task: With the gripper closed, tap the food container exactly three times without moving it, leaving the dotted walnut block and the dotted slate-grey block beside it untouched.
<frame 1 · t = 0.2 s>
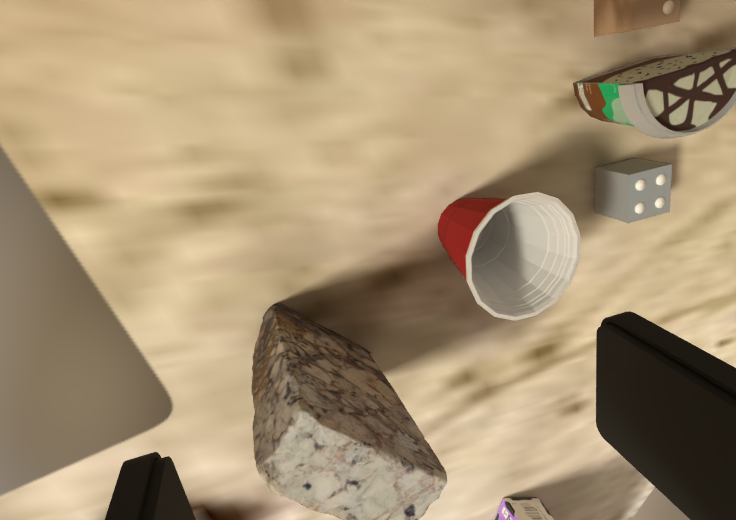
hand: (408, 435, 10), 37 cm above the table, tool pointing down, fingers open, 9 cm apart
food container: (614, 100, 50), on the table
plastic cup: (463, 223, 50), on the table
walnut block: (615, 4, 47), on the table
slate-grey block: (614, 185, 53), on the table
stone block: (313, 345, 50), on the table
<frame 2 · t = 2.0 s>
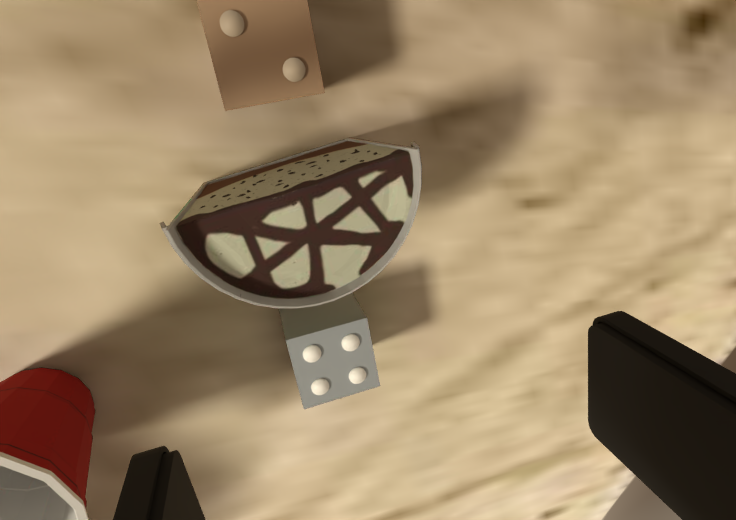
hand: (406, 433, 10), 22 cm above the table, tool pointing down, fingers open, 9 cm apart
food container: (293, 205, 31), on the table
plastic cup: (48, 402, 31), on the table
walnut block: (259, 55, 28), on the table
slate-grey block: (321, 328, 34), on the table
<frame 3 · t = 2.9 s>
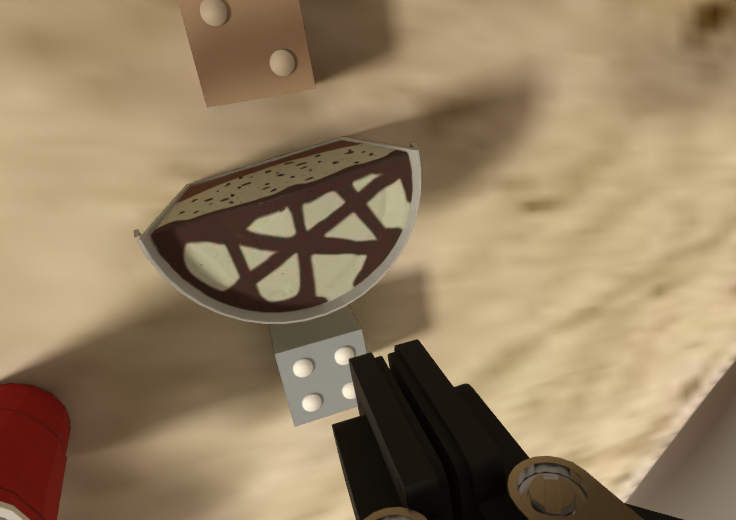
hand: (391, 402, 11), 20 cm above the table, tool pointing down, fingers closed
food container: (283, 209, 29), on the table
plastic cup: (20, 419, 29), on the table
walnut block: (245, 47, 26), on the table
slate-grey block: (313, 338, 32), on the table
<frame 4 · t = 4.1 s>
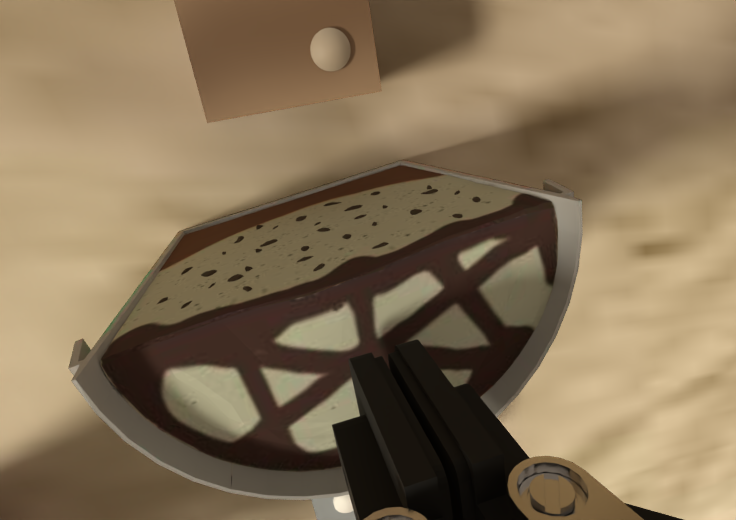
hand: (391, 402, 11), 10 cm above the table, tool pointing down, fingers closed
food container: (316, 261, 21), on the table, touching gripper
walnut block: (266, 31, 17), on the table
slate-grey block: (353, 430, 24), on the table
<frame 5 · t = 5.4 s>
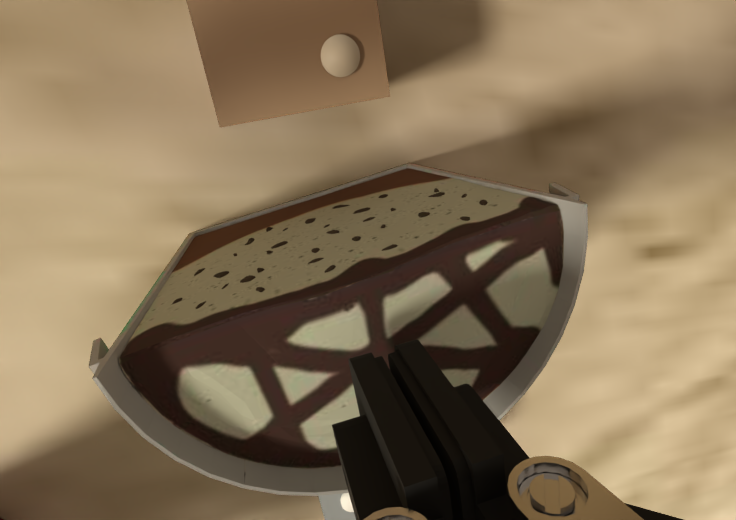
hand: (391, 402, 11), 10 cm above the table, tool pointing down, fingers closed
food container: (323, 263, 21), on the table
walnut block: (276, 37, 18), on the table
slate-grey block: (359, 430, 24), on the table
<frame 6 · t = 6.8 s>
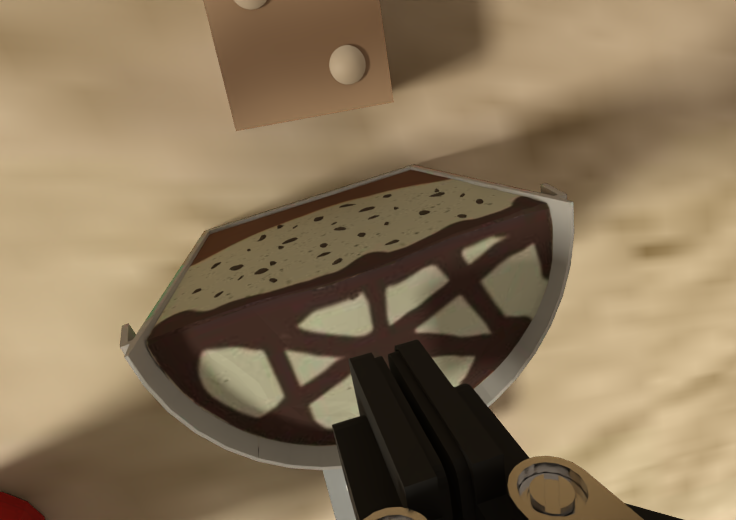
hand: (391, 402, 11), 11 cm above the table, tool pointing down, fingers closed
food container: (331, 259, 22), on the table
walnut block: (287, 46, 19), on the table
slate-grey block: (364, 421, 25), on the table
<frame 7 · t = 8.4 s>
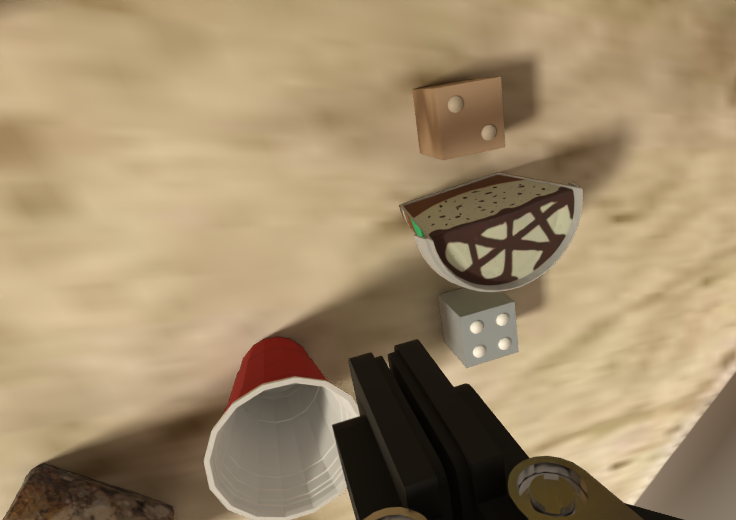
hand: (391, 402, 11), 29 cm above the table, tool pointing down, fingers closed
food container: (455, 220, 43), on the table
plastic cup: (277, 362, 43), on the table
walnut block: (444, 116, 39), on the table
slate-grey block: (464, 311, 46), on the table
stone block: (99, 504, 43), on the table
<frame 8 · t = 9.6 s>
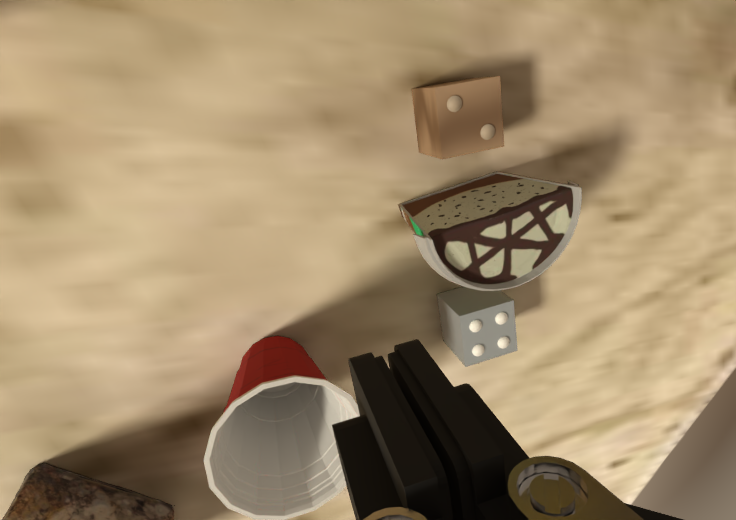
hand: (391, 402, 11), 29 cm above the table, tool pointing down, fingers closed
food container: (454, 220, 43), on the table
plastic cup: (276, 361, 43), on the table
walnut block: (443, 115, 39), on the table
slate-grey block: (464, 310, 46), on the table
stone block: (99, 503, 43), on the table
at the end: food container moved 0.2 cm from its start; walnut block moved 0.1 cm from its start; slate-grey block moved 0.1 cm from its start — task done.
